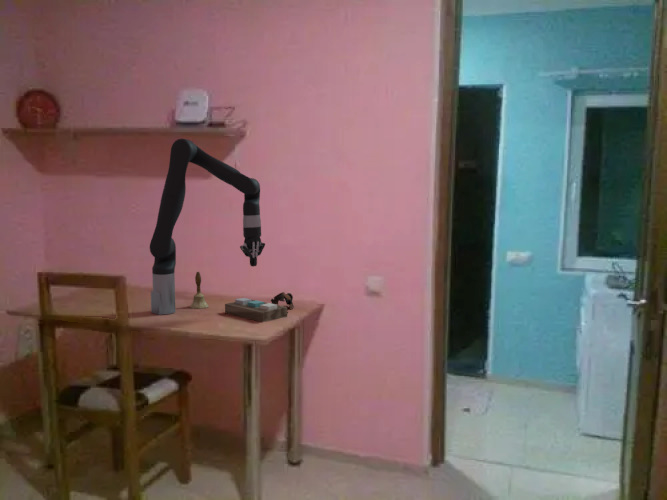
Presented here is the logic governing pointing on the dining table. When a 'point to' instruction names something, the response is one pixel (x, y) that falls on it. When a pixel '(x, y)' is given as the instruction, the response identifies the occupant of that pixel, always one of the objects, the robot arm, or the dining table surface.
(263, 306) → the cream key
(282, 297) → the pottery mug
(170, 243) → the robot arm
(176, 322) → the dining table surface
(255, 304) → the teal key
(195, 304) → the hand bell
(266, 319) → the console
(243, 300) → the grey key
